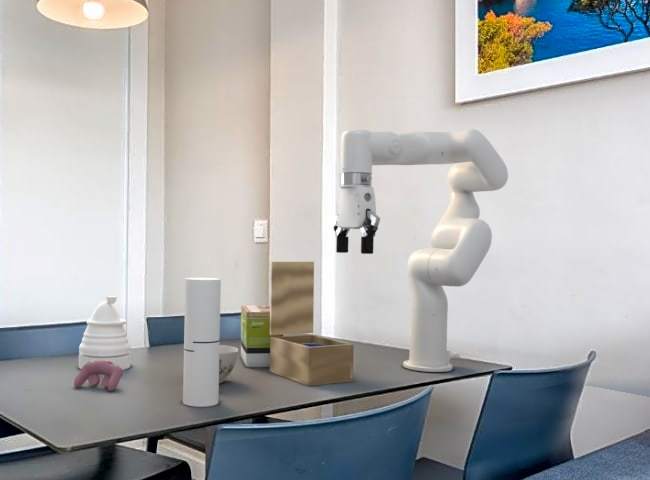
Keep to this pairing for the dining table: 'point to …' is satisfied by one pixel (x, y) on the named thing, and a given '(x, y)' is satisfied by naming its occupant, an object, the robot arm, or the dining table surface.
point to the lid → (291, 297)
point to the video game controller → (96, 368)
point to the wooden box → (311, 359)
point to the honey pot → (105, 337)
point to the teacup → (226, 361)
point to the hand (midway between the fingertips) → (354, 253)
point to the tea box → (255, 335)
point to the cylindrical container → (201, 341)
